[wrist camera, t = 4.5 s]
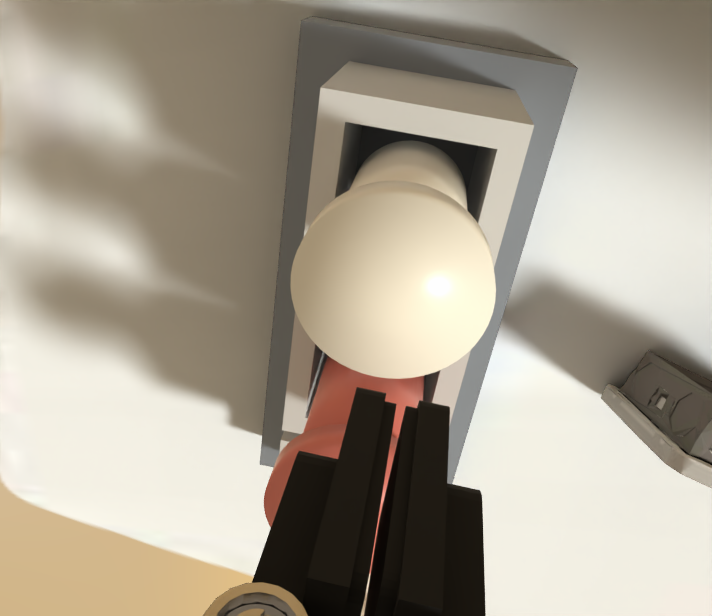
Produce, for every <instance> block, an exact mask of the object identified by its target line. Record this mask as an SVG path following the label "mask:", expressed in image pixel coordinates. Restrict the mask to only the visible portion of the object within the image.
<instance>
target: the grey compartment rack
mask: <svg viewBox="0 0 712 616" xmlns="http://www.w3.org/2000/svg"><path fill="white" fill-rule="evenodd" d="M577 69H578V68H577V67H576V66H574V65H573V64H572V63H570V62H569V61H568V60H562V59H556V58H550V57H545V56H539V55H533V54H527V53H521V52H516V51H510V50H504V49H498V48H492V47H487V46H481V45H475V44H469V43H463V42H458V41H452V40H446V39H440V38H434V37H429V36H423V35H417V34H411V33H405V32H400V31H394V30H388V29H382V28H376V27H371V26H365V25H359V24H353V23H347V22H342V21H336V20H330V19H324V18H319V17H313V16H312V17H309V18H306V19H304V20H301V28H300V39H299V50H298V60H297V71H296V82H295V92H294V103H293V114H292V125H291V135H290V146H289V157H288V167H287V178H286V189H285V199H284V210H283V221H282V232H281V242H280V253H279V264H278V274H277V285H276V296H275V306H274V317H273V328H272V339H271V349H270V360H269V371H268V381H267V392H266V403H265V413H264V424H263V435H262V446H261V456H260V464H261V465H265V466H270V467H274V465H275V462H276V460H277V457H278V456H279V454H280V452H281V451H282V450H283V448H284V447H285V446H286V445H287V444H288V443H289V442H290V441H291V440H293V439H294V438H295V437H297V436H299V435H300V434H302V433H303V432H304V428H305V425H306V422H307V419H308V416H309V413H310V410H311V406H312V403H313V400H314V397H315V394H316V391H317V387H318V384H319V381H320V378H321V375H322V372H323V369H324V365H325V362H326V359H327V357H328V355H327V354H326V353H324V352H323V351H322V350H321V349H320V348H319V347H318V346H317V345H316V344H315V343H314V342H313V341H312V340H311V338H310V337H309V336H308V334H307V333H306V332H305V330H304V328H303V326H302V325H301V323H300V321H299V319H298V317H297V314H296V312H295V309H294V305H293V301H292V296H291V287H290V284H291V271H292V265H293V261H294V258H295V255H296V252H297V250H298V248H299V246H300V244H301V242H302V240H303V238H304V236H305V234H306V233H307V231H308V229H309V227H310V225H311V224H312V222H313V221H314V219H315V218H316V217H317V215H318V214H319V213H320V212H321V211H322V210H323V209H324V208H325V207H326V205H328V204H329V203H330V202H331V201H333V200H334V199H335V198H337V197H338V196H340V195H342V194H343V193H345V192H347V191H349V190H350V187H351V185H352V183H353V181H354V179H355V176H356V174H357V172H358V170H359V168H360V167H361V165H362V164H363V163H364V161H365V160H366V159H367V158H368V157H369V156H370V155H371V154H372V153H374V152H375V151H376V150H378V149H380V148H381V147H383V146H385V145H388V144H390V143H394V142H398V141H411V140H412V141H420V142H424V143H428V144H430V145H433V146H435V147H437V148H439V149H440V150H442V151H443V152H445V153H446V154H447V155H448V156H449V157H450V158H451V159H452V160H453V161H454V162H455V164H456V165H457V166H458V168H459V170H460V171H461V174H462V176H463V179H464V182H465V186H466V197H467V211H468V212H469V213H470V214H471V215H472V216H473V218H474V219H475V220H476V222H477V223H478V224H479V226H480V228H481V229H482V231H483V233H484V234H485V237H486V239H487V242H488V244H489V247H490V251H491V255H492V260H493V267H494V274H495V283H496V297H495V305H494V310H493V314H492V316H491V319H490V322H489V324H488V326H487V328H486V330H485V332H484V334H483V335H482V337H481V338H480V339H479V341H478V342H477V343H476V345H475V346H474V347H473V348H472V349H471V350H470V351H469V352H468V353H467V354H465V355H464V356H463V357H462V358H460V359H459V360H458V361H456V362H454V363H453V364H451V365H449V366H448V367H446V368H443V369H441V370H439V371H437V372H434V373H431V374H427V375H424V390H423V401H426V402H430V403H435V404H440V405H444V406H449V407H450V424H449V451H448V477H447V483H448V484H452V482H453V479H454V476H455V472H456V469H457V466H458V462H459V459H460V456H461V452H462V449H463V446H464V443H465V439H466V436H467V433H468V429H469V426H470V423H471V419H472V416H473V413H474V409H475V406H476V403H477V399H478V396H479V393H480V390H481V386H482V383H483V380H484V376H485V373H486V370H487V366H488V363H489V360H490V356H491V353H492V350H493V347H494V343H495V340H496V337H497V333H498V330H499V327H500V323H501V320H502V317H503V313H504V310H505V307H506V304H507V300H508V297H509V294H510V290H511V287H512V284H513V280H514V277H515V274H516V270H517V267H518V264H519V261H520V257H521V254H522V251H523V247H524V244H525V241H526V237H527V234H528V231H529V227H530V224H531V221H532V217H533V214H534V211H535V208H536V204H537V201H538V198H539V194H540V191H541V188H542V184H543V181H544V178H545V174H546V171H547V168H548V165H549V161H550V158H551V155H552V151H553V148H554V145H555V141H556V138H557V135H558V131H559V128H560V125H561V122H562V118H563V115H564V112H565V108H566V105H567V102H568V98H569V95H570V92H571V88H572V85H573V82H574V79H575V75H576V72H577Z"/></svg>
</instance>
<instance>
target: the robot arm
mask: <svg viewBox="0 0 712 616" xmlns="http://www.w3.org/2000/svg"><path fill="white" fill-rule="evenodd" d="M385 398H386V393H383V392H379V391H374V390H369V389H365V388H360V387H357V388H356V392H355V396H354V399H353V403H352V407H351V411H350V415H349V418H348V422H347V426H346V430H345V434H344V437H343V441H342V445H341V449H340V453H339V457H338V459H335V458H330V457H326V456H321V455H317V454H312V453H308V452H303V451H299V452H298V453H297V456H296V458H295V461H294V464H293V467H292V469H291V472H290V475H289V478H288V481H287V484H286V487H285V490H284V492H283V495H282V498H281V501H280V504H279V507H278V510H277V512H276V515H275V518H274V521H273V524H272V527H271V530H270V532H269V535H268V538H267V541H266V544H265V547H264V550H263V553H262V555H261V558H260V561H259V564H258V567H257V570H256V573H255V575H254V578H253V581H252V583H245V584H242V585H239V586H237V587H233V588H230V589H229V590H228V591H226V592H225V593H223V594H222V595H220V596H219V597H217V598H216V600H214V602H213V603H212V604H211V605H210V607H209V608H208V609H207V610H206V612H205V613H204V615H203V616H361V612H362V608H363V603H364V599H365V594H366V589H367V584H368V578H369V573H370V567H371V560H372V554H373V548H374V542H375V536H376V529H377V523H378V517H379V511H380V504H381V498H382V492H383V486H384V480H385V473H386V467H387V461H388V455H389V448H390V442H391V436H392V430H393V424H394V417H395V411H396V405H397V404H396V403H391V402H386V401H385ZM449 424H450V407H449V406H444V405H440V404H435V403H430V402H426V401H421V400H419V403H418V406H417V408H415V407H410V406H406V408H405V411H404V416H403V420H402V424H401V428H400V433H399V437H398V441H397V446H396V450H395V454H394V458H393V463H392V467H391V471H390V476H389V480H388V484H387V488H386V493H385V497H384V501H383V506H382V510H381V514H380V519H379V525H378V530H377V536H376V543H375V549H374V555H373V562H372V568H371V574H370V580H369V587H368V593H367V599H366V606H365V612H364V616H485V585H484V550H483V514H482V495H481V492H480V490H475V489H471V488H466V487H462V486H457V485H453V484H448V483H447V477H448V451H449Z"/></svg>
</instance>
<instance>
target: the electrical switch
mask: <svg viewBox="0 0 712 616" xmlns="http://www.w3.org/2000/svg"><path fill="white" fill-rule="evenodd" d="M601 399H602V400H603V401H604V402H605V403H606V404H607V405H608V406H609V407H610V408H611V409H612V410H613V411H614V412H615V413H616V414H617V415H618V416H619V417H620V418H621V420H622V421H623V422H624V423H625V424H626V425H627V426H628V427H629V428H630V429H631V430H632V431H633V432H634V433H635V434H636V435H637V436H638V437H639V438H640V439H641V440H642V441H643V442H644V443H645V444H646V445H647V446H648V447H649V448H650V449H651V450H652V451H653V452H654V453H655V454H656V455H657V456H658V457H659V458H660V459H661V460H662V461H663V462H664V463H665V464H667V465H668V466H670V467H671V468H673V469H674V470H676V471H677V472H679V473H680V474H682V475H684V476H686V477H689V478H691V479H693V480H695V481H697V482H699V483H701V484H704V485H706V486H708V487H710V488H712V381H710V380H708V379H706V378H703V377H701V376H699V375H697V374H695V373H693V372H691V371H689V370H687V369H685V368H683V367H680V366H678V365H676V364H674V363H672V362H670V361H668V360H666V359H664V358H662V357H660V356H657V355H655V354H653V353H652V352H650V351H649V350H648V351H647V353H646V354H645V356H644V357H643V359H642V361H641V362H640V364H639V365H638V367H637V368H636V369H635V370H634V371H633V372H632V374H631V375H630V376H629V378H628V379H627V381H626V383H625V384H624V385H623V386H622V387H621V389H619V388H617V387H615V386H613V385H611V384H608V385H607V386H606V388H605V390H604V392H603V394H602V396H601Z"/></svg>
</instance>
